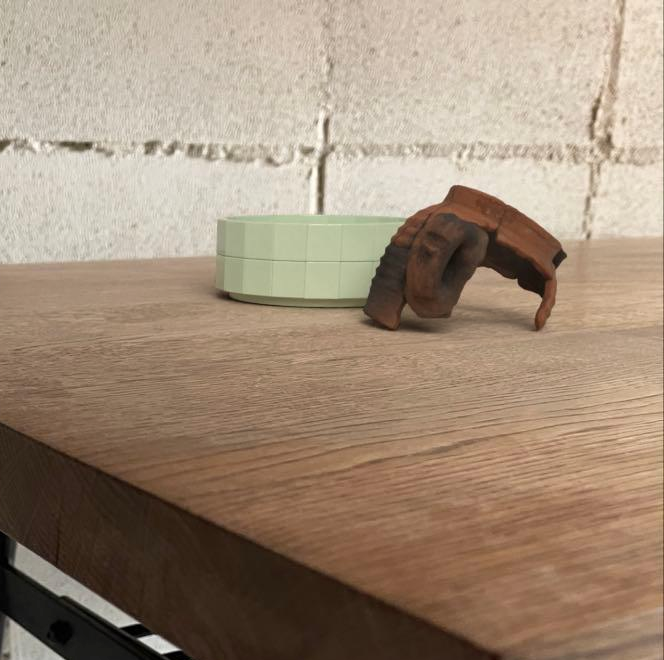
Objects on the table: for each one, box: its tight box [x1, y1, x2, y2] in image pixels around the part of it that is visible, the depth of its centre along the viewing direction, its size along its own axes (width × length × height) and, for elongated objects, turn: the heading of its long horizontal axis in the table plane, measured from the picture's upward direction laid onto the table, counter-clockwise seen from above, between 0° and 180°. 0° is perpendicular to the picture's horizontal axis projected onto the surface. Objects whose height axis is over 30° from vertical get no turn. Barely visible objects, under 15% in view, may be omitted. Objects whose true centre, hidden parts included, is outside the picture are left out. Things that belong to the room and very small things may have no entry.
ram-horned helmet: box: [362, 184, 568, 331], centre depth 60 cm, size 12×10×8 cm
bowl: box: [214, 214, 409, 308], centre depth 74 cm, size 13×13×5 cm
